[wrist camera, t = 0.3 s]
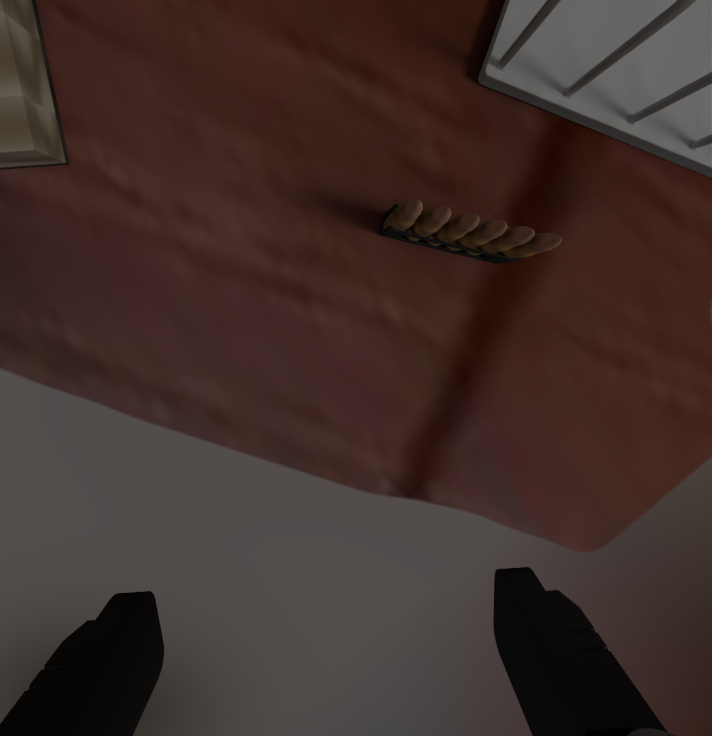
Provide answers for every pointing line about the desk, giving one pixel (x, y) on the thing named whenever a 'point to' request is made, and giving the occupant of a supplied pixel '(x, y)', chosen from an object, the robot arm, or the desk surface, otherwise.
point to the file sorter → (613, 69)
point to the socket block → (27, 92)
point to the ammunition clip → (464, 233)
